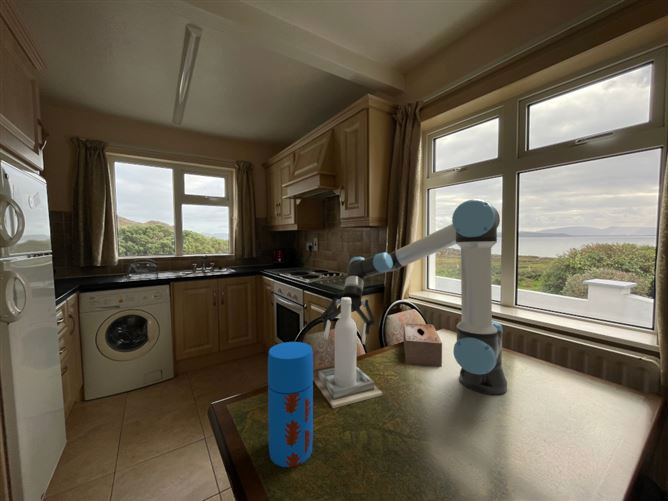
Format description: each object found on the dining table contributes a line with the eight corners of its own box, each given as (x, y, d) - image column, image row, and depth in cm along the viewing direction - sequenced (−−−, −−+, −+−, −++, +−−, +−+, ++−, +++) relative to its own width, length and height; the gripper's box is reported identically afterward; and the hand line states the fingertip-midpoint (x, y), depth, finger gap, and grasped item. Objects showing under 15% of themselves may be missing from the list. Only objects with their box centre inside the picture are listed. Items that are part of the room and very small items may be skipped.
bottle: (359, 385, 93) (360, 300, 91) (338, 389, 90) (339, 301, 89) (351, 374, 100) (352, 295, 99) (331, 377, 98) (332, 296, 97)
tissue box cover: (403, 341, 139) (403, 322, 139) (432, 344, 136) (433, 324, 136) (405, 363, 114) (405, 340, 114) (441, 367, 111) (442, 343, 110)
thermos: (272, 435, 71) (271, 342, 70) (312, 432, 72) (312, 340, 71) (265, 469, 60) (264, 360, 59) (312, 466, 61) (312, 358, 60)
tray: (382, 395, 90) (382, 383, 90) (332, 408, 83) (332, 395, 82) (354, 369, 108) (354, 359, 108) (312, 378, 101) (312, 367, 101)
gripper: (385, 297, 106) (380, 348, 92) (325, 293, 113) (313, 341, 99) (384, 286, 101) (379, 339, 87) (321, 283, 108) (307, 331, 94)
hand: (343, 340), depth 93 cm, fingers open, 13 cm apart
